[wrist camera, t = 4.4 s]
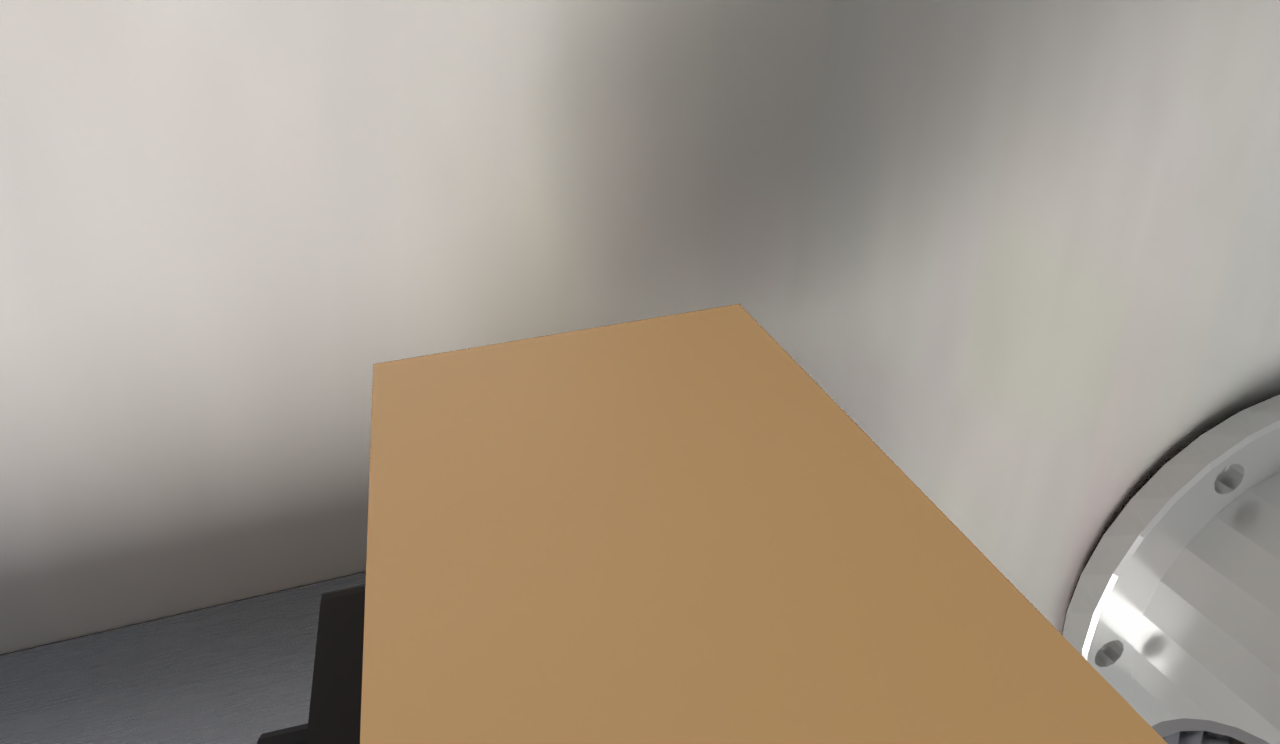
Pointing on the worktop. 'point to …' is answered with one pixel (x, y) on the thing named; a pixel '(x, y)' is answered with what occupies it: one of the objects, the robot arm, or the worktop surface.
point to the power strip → (172, 676)
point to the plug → (681, 561)
